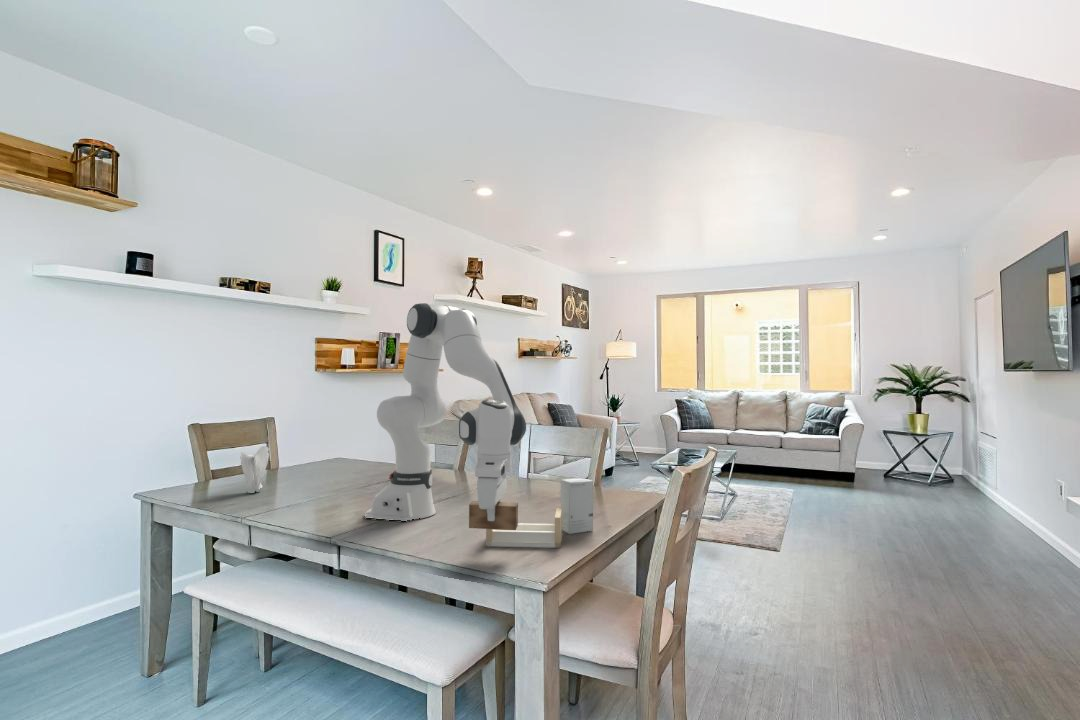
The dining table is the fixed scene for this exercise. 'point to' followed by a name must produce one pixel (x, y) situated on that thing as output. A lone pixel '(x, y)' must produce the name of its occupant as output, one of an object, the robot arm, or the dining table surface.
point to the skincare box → (577, 505)
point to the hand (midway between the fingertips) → (493, 517)
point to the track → (528, 535)
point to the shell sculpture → (254, 467)
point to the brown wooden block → (503, 519)
